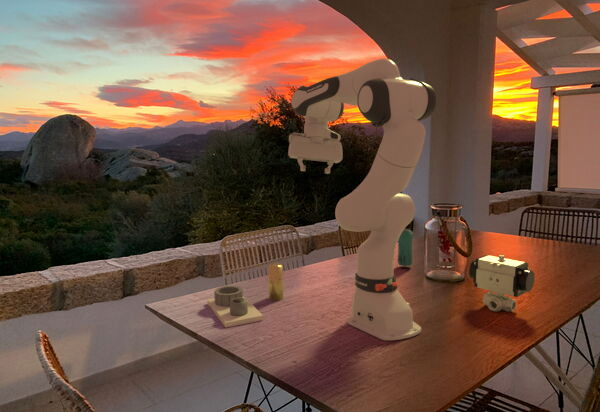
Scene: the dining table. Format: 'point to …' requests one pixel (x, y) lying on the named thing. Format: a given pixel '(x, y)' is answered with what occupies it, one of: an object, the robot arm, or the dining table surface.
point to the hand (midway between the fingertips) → (315, 172)
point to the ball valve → (501, 280)
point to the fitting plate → (235, 319)
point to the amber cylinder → (275, 281)
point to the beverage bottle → (405, 247)
